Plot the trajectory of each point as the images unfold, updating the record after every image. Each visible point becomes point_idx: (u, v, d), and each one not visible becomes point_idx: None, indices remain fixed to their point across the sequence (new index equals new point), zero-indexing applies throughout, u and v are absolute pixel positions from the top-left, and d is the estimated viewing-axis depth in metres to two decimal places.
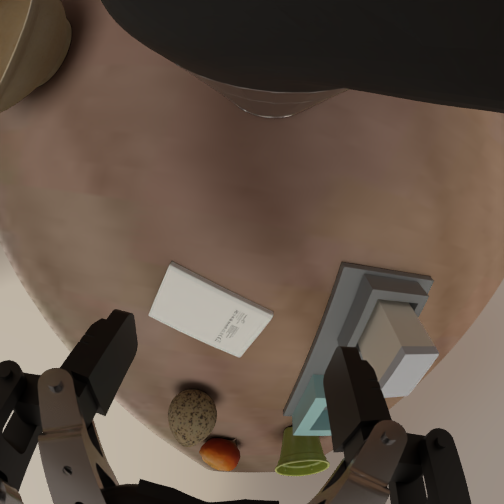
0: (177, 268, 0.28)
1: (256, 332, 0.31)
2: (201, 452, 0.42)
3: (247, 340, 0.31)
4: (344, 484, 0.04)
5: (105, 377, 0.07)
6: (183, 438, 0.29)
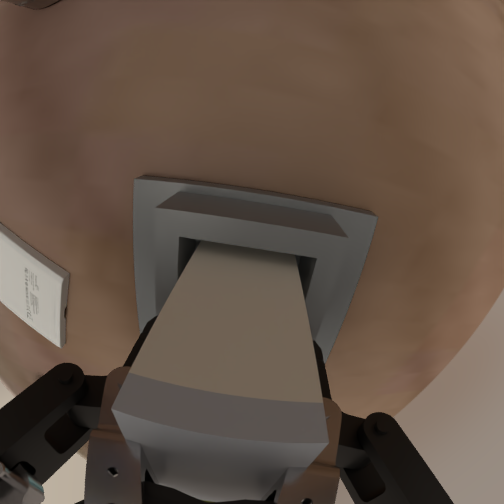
0: None
1: (56, 307, 0.16)
2: None
3: (53, 320, 0.17)
4: (287, 473, 0.04)
5: None
6: None
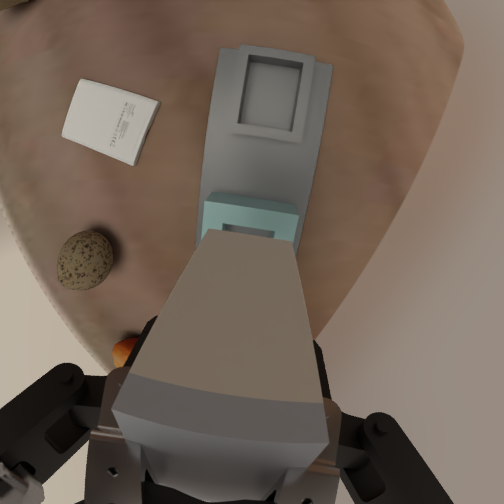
0: (85, 79, 0.24)
1: (144, 124, 0.27)
2: None
3: (137, 137, 0.27)
4: (287, 473, 0.04)
5: None
6: (61, 269, 0.26)
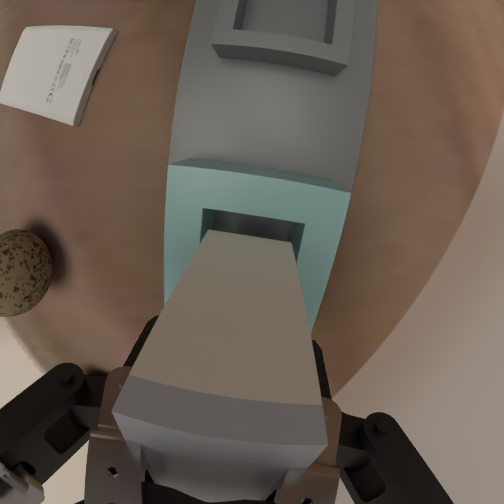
0: None
1: (91, 62, 0.14)
2: None
3: (80, 82, 0.14)
4: (287, 473, 0.04)
5: None
6: None
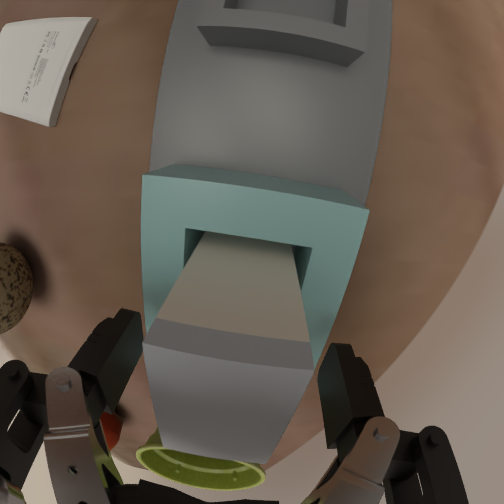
0: (10, 23, 0.09)
1: (68, 55, 0.11)
2: None
3: (56, 77, 0.12)
4: (337, 482, 0.04)
5: (113, 376, 0.07)
6: None
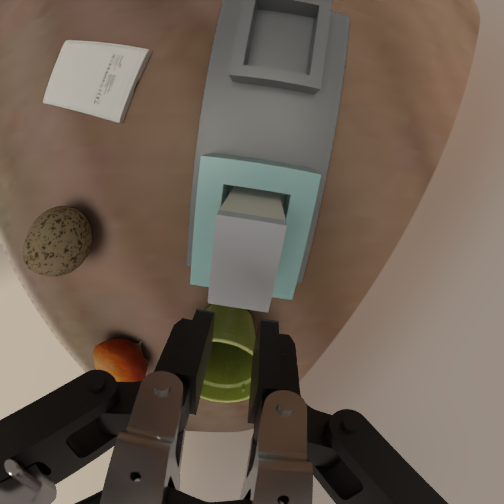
0: (71, 40, 0.18)
1: (133, 74, 0.20)
2: None
3: (125, 89, 0.21)
4: (258, 472, 0.04)
5: (200, 375, 0.08)
6: (26, 247, 0.19)
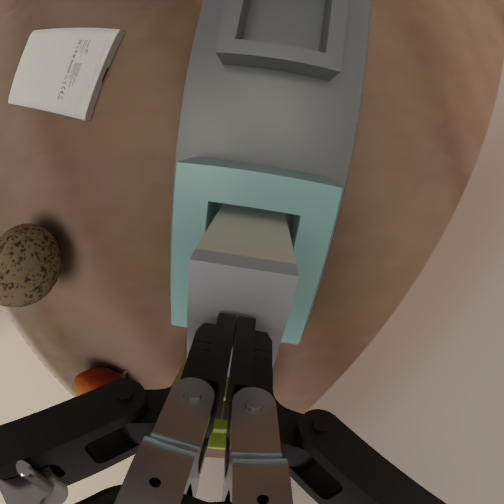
0: (38, 30, 0.13)
1: (101, 60, 0.15)
2: None
3: (91, 79, 0.15)
4: (233, 473, 0.04)
5: (226, 380, 0.08)
6: None
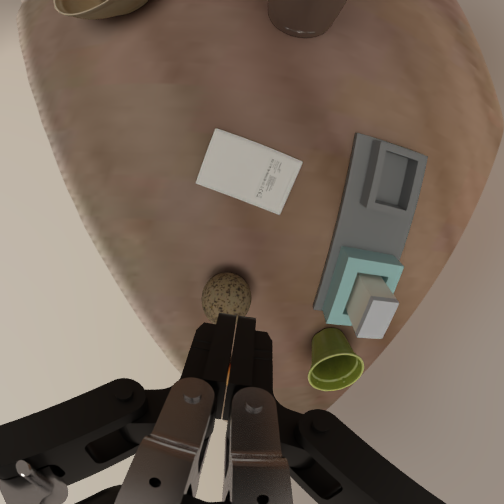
0: (222, 130, 0.34)
1: (291, 180, 0.36)
2: None
3: (284, 191, 0.37)
4: (233, 473, 0.04)
5: (226, 380, 0.08)
6: (219, 311, 0.35)
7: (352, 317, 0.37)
